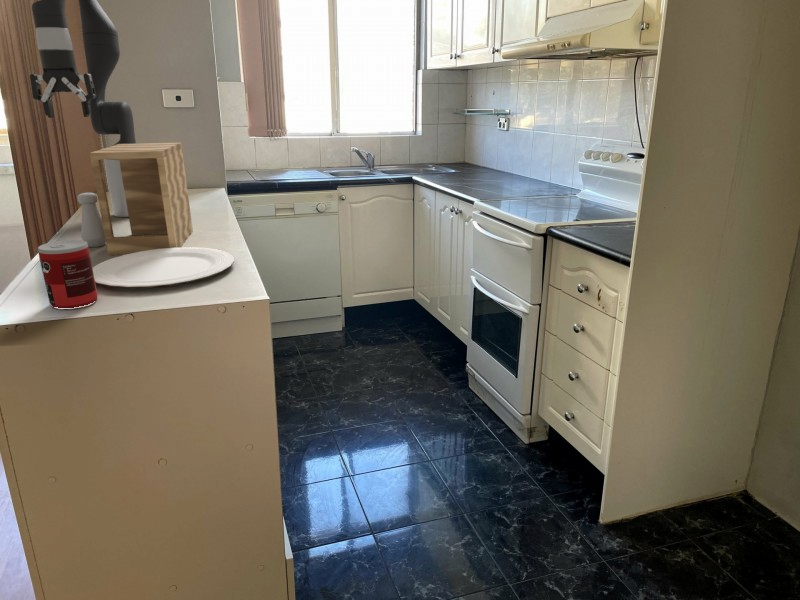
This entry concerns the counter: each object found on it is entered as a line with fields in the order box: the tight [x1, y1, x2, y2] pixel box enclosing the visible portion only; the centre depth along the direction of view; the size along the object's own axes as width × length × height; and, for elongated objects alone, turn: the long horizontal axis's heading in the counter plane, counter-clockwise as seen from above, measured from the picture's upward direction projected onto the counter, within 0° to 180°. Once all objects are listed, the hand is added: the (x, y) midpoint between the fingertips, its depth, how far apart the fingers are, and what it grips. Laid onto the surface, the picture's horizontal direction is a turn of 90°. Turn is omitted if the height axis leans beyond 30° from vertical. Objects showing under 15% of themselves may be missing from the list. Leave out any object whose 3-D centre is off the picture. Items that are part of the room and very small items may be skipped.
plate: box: [92, 246, 235, 289], centre depth 128 cm, size 29×29×2 cm
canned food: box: [37, 239, 99, 308], centre depth 107 cm, size 8×8×11 cm
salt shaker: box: [76, 192, 106, 248], centre depth 148 cm, size 6×6×13 cm
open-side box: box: [89, 142, 194, 256], centre depth 148 cm, size 22×16×24 cm
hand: (69, 117), depth 153 cm, fingers open, 8 cm apart
